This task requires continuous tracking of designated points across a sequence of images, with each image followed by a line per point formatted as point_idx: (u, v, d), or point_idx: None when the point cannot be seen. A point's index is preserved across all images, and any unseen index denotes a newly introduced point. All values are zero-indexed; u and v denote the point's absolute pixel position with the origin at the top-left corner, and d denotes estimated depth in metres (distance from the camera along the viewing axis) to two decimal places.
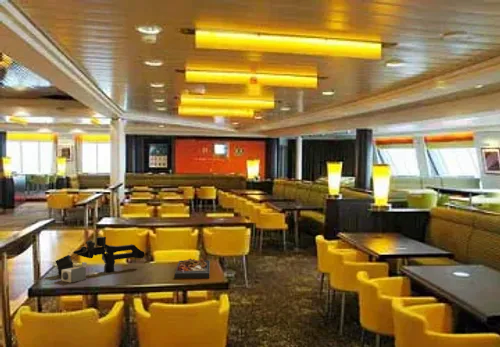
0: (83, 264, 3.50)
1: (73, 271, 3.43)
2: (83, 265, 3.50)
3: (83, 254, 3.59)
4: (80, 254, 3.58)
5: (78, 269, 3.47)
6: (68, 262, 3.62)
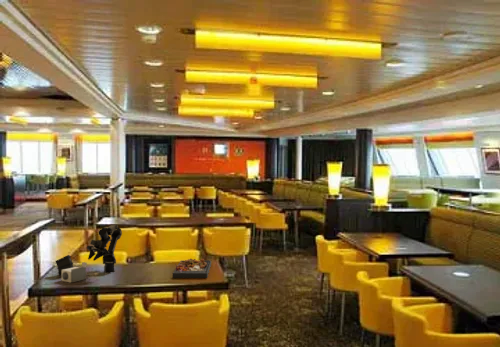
0: (83, 264, 3.50)
1: (73, 271, 3.43)
2: (83, 265, 3.50)
3: (98, 256, 3.56)
4: (96, 258, 3.55)
5: (78, 269, 3.47)
6: (68, 262, 3.62)
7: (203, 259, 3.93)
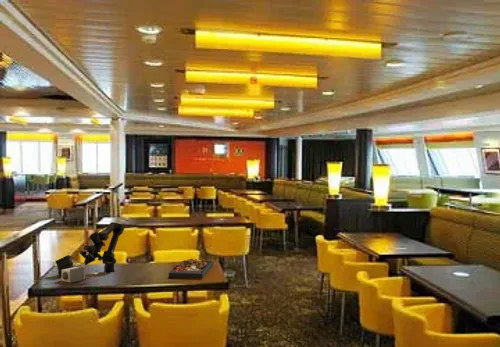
0: (82, 264, 3.49)
1: (71, 271, 3.42)
2: (82, 265, 3.49)
3: (89, 261, 3.53)
4: (86, 263, 3.52)
5: (77, 269, 3.46)
6: (68, 262, 3.62)
7: (204, 259, 3.92)
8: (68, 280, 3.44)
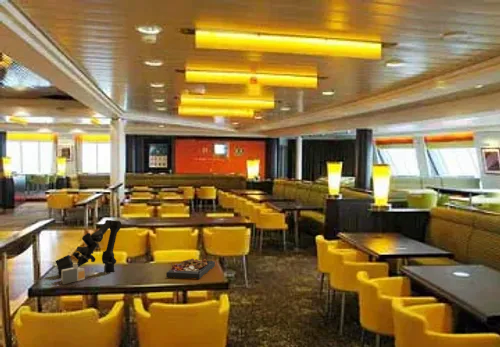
0: (74, 266, 3.44)
1: (64, 273, 3.37)
2: (74, 267, 3.44)
3: (81, 262, 3.48)
4: (79, 264, 3.47)
5: (69, 271, 3.41)
6: (68, 262, 3.62)
7: (205, 259, 3.91)
8: None
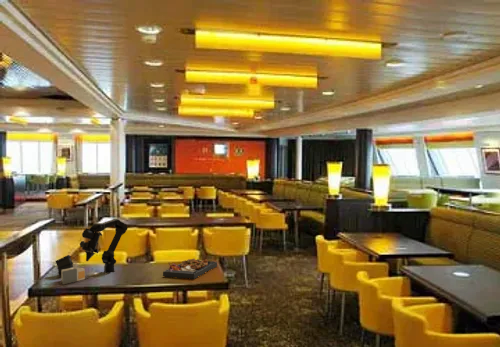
0: (74, 266, 3.44)
1: (64, 273, 3.37)
2: (74, 267, 3.44)
3: (88, 255, 3.60)
4: (87, 258, 3.60)
5: (69, 271, 3.41)
6: (68, 262, 3.62)
7: (206, 260, 3.90)
8: None
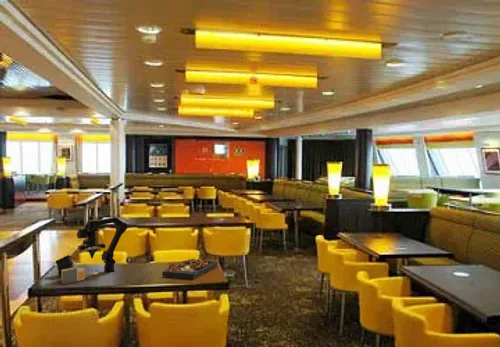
0: (74, 266, 3.44)
1: (64, 273, 3.37)
2: (74, 267, 3.44)
3: (90, 253, 3.66)
4: (90, 255, 3.66)
5: (69, 271, 3.41)
6: (68, 262, 3.62)
7: (206, 260, 3.90)
8: None
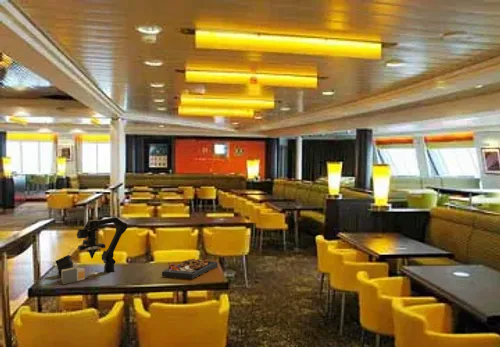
0: (74, 266, 3.44)
1: (64, 273, 3.37)
2: (74, 267, 3.44)
3: (90, 253, 3.66)
4: (90, 255, 3.66)
5: (69, 271, 3.41)
6: (68, 262, 3.62)
7: (206, 260, 3.90)
8: None
